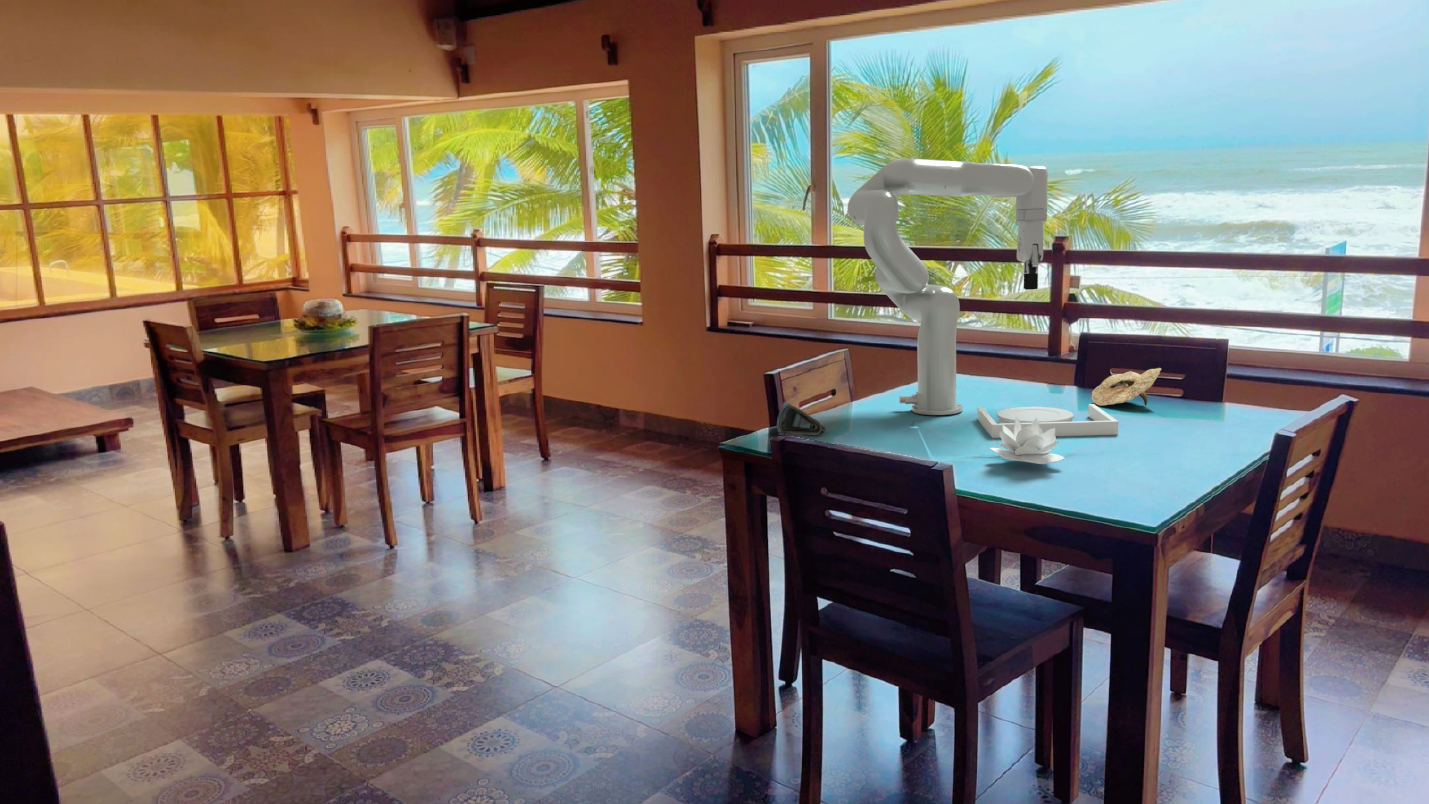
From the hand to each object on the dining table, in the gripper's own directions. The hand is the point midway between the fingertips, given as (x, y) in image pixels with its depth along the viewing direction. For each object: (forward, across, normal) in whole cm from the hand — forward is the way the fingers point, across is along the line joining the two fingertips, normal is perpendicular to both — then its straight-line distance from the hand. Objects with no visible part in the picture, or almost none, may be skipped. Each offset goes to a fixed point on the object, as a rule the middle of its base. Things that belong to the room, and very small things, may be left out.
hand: (1030, 289), depth 271 cm
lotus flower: (+30, +61, -13) cm, 69 cm away
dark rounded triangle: (+31, +33, -56) cm, 72 cm away
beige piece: (+30, +8, +24) cm, 39 cm away
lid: (+30, +30, -4) cm, 42 cm away
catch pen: (+29, +30, -3) cm, 42 cm away
